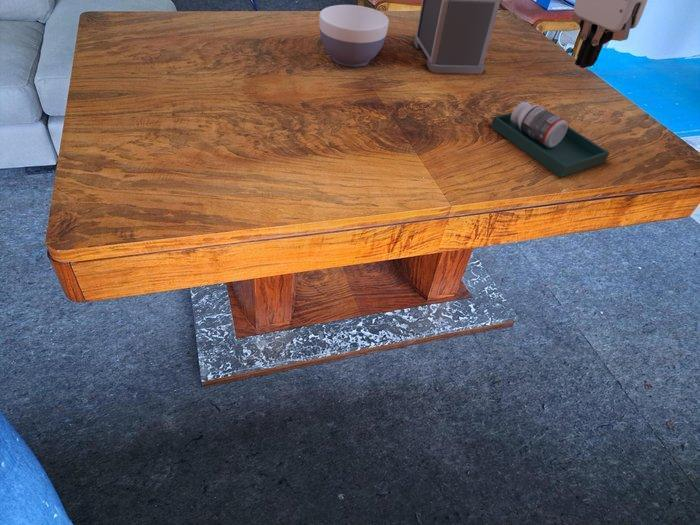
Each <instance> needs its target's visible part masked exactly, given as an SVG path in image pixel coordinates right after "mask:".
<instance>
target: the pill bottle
mask: <svg viewBox="0 0 700 525" xmlns="http://www.w3.org/2000/svg"><path fill="white" fill-rule="evenodd" d="M511 113H512V115H511V122H512V123H513V124H515V125H517V126H519V129H520V130H521V131H522V132H523V133H524V134H526V135H528V136H529V137H531V138H533V139H534V140H536V141H537V142H539V143H541V144H542V145H544V146H545V147H547V148H552V147H554V146H556V145H557V144H558V143H559V142H560V141H561V140H562V139H563V137H564V136H565V134H566V132H567V129H568V127H569V124H568V122H567V121H566V120H565V119H563V118H562V117H559V116H558V115H556V114H554V113H552V112H551V111H549V110H547V109H546V108H544V107H542V106H540V105H538V104H535V105H532V104H531V103H529V102H527V101H521V102H519V104H517V105H516V106H515V108H514V109H513V110H512V112H511Z"/></svg>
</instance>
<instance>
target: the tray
mask: <svg viewBox="0 0 700 525" xmlns="http://www.w3.org/2000/svg"><path fill="white" fill-rule="evenodd" d="M511 115H512V112H509V113H508V112H507V113H505V114H504V113H503V114H500V115H496V116H493V118H492V122H491V125H490V128H492V129H493V130H494V131H496V132H497V133H498V134H499V135H501V136H502V137H504V138H505V139H507V140H508V141H509V142H511V143H512V144H513V145H515V146H516V147H518V148H519V149H521V150H522V151H523V152H524V153H526V154H528V155H529V156H530V157H532V158H533V159H534V160H535V161H537V162H538V163H540V164H541V165H543V166H544V167H545V168H547V169H548V170H550V172H552V173H554V174H555V175H556V176H558V177H559V178H564V177H566V176H569V175H573V174H575V173H579V172H582V171H584V170H585V171H586V170H587V169H590V168H594V167H596V166H599V165H602V164H605V163H606V161H607V159H608V157H609V155H610V152H609V151H607V150H606V149H605V148H603V147H601V146H600V145H598V144H597V143H595V142H593V141H592V140H591V139H589V138H587V137H586V136H584V135H582V134H581V133H580V132H578V131H576V130H575V129H573V128H571V127H570V126H568V129H567V132H566V134H565V136H564V137H563V139H562V140H561V141H560V142H559V143H558V144H557V145H556V146H554V147H552V148H547V147H545V146H544V145H542V144H541V143H539V142H537V141H536V140H534V139H533V138H531V137H529V136H528V135H526V134H524V133H523V132H522V131H521V130H520V129H519V126H517V125H515V124H513V123H512V122H511Z"/></svg>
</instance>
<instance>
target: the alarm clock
mask: <svg viewBox="0 0 700 525" xmlns="http://www.w3.org/2000/svg"><path fill="white" fill-rule="evenodd" d="M501 1H502V0H421V5H420V10H419V11H420V12H419V17H418V21H417V28H416V34H415V36H414V41H413V44H414V46H415V48H416V49H417V50H422V51H423V53H424V54H425V56H426V58H427V61H426V66H427V68H428V69H429V71H430V72H432V73H435V74H470V75H471V74H476V75H479V74H483V71H484V68H485V64H484V63H485V59H486V57H487V53H488V49H489V46H490V41H491V37H492V34H493V31H494V27H495V23H496V20H497V16H498V12H499V8H500V6H501Z"/></svg>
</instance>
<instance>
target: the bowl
mask: <svg viewBox="0 0 700 525" xmlns="http://www.w3.org/2000/svg"><path fill="white" fill-rule="evenodd" d="M318 18H319V19H318V21H319V22H318V25H319V27H318V28H319V33H320V39H321V42H322V44H323V47H324V48H325V52H327V54H329V55H330V56H331V59H332V60H333V62H335V63H336V64H338V65H341V66H344V67H349V68H350V67H351V68H354V67H355V68H357V67H363V66H366V65H368V64H369V63H370V61H371V60H372V59H374V58H375V57H376V56H377V55H378V54H379V52H380V51H381V49H382V48H383V46H384V43H385V40H386V37H387V34H388V31H389V25H390V19H389V18H388V16H387V15H386V14H385V13H383V12H382V11H380V10H377V9H375V8H372V7H368V6H364V5H356V4H336V5H329V6H327V7H324V8H323V9H321V11H320V12H319V13H318Z"/></svg>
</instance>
